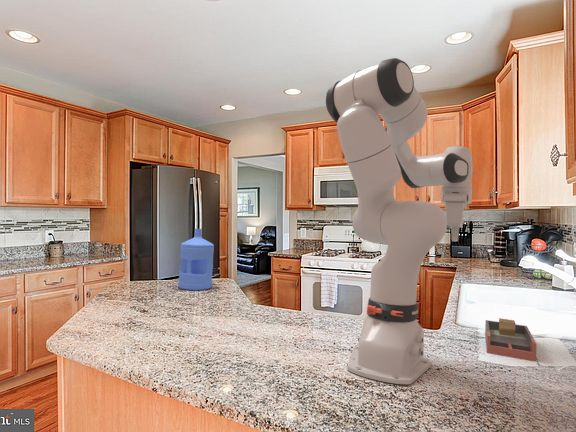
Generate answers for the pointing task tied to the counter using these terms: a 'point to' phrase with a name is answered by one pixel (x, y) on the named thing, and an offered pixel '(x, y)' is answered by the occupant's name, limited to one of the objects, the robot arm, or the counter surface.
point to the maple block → (507, 327)
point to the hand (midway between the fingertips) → (454, 241)
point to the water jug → (196, 263)
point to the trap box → (510, 342)
